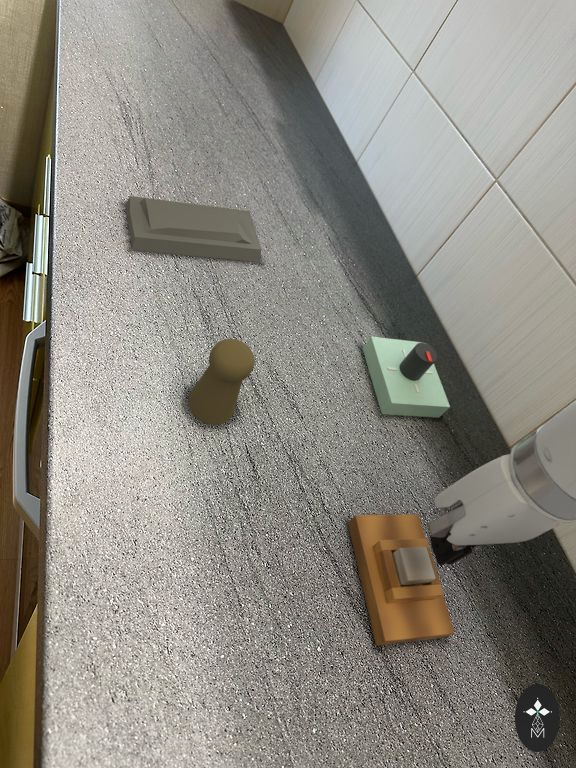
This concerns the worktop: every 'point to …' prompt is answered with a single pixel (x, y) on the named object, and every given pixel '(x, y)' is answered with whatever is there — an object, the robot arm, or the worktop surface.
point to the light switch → (397, 581)
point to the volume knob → (418, 361)
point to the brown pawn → (221, 382)
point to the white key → (413, 566)
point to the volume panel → (402, 381)
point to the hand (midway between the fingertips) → (439, 550)
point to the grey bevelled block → (191, 229)
